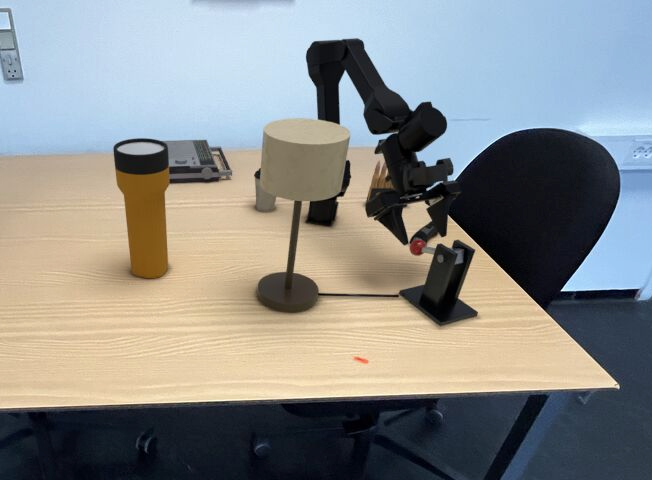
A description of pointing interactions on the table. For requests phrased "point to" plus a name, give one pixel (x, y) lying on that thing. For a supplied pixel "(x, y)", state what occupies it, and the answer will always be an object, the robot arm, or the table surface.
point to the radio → (194, 162)
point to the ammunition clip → (379, 183)
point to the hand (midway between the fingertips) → (425, 240)
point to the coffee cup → (263, 196)
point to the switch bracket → (443, 286)
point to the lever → (432, 250)
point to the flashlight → (144, 202)
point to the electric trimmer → (425, 233)
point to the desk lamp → (300, 195)
